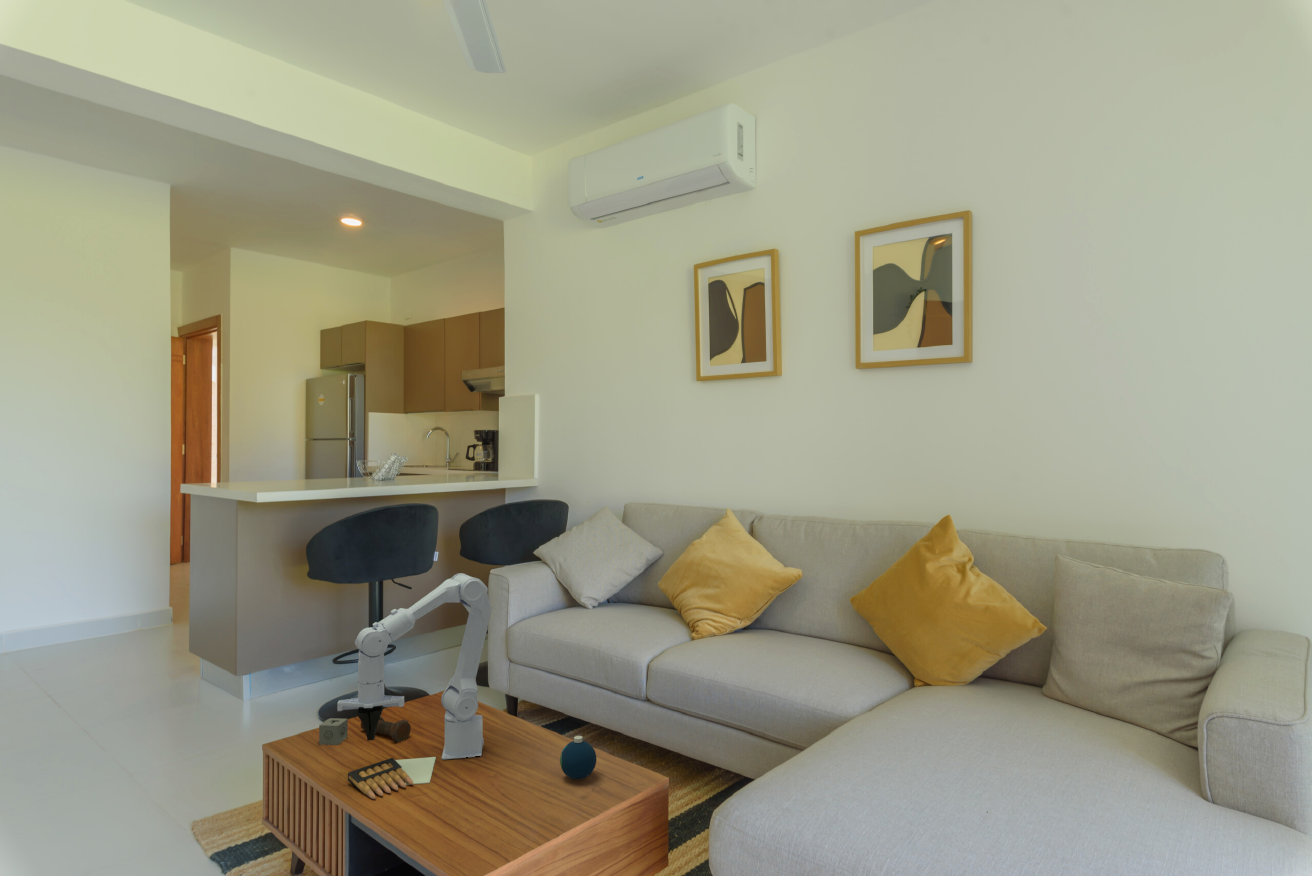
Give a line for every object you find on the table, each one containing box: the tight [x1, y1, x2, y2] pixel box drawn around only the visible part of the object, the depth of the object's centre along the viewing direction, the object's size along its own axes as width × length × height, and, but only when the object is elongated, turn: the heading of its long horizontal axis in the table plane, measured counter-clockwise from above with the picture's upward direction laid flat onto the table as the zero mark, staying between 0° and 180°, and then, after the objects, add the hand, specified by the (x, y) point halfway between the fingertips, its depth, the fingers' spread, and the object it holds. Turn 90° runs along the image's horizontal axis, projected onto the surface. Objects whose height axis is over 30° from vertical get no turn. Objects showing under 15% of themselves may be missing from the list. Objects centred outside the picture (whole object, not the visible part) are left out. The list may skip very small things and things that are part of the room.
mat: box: [387, 756, 437, 788], centre depth 173 cm, size 12×14×1 cm
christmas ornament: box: [559, 735, 597, 781], centre depth 170 cm, size 8×8×10 cm
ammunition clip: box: [347, 757, 414, 800], centre depth 166 cm, size 11×2×12 cm
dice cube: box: [318, 717, 349, 746], centre depth 192 cm, size 5×5×5 cm
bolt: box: [360, 715, 412, 743], centre depth 195 cm, size 6×5×15 cm
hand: (371, 738), depth 172 cm, fingers closed
